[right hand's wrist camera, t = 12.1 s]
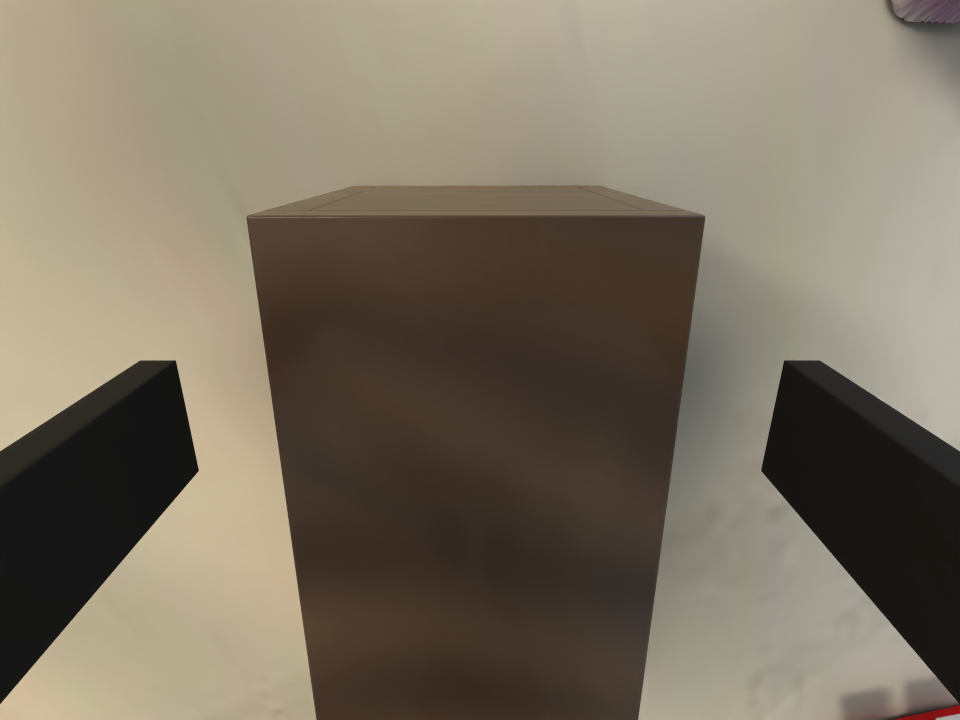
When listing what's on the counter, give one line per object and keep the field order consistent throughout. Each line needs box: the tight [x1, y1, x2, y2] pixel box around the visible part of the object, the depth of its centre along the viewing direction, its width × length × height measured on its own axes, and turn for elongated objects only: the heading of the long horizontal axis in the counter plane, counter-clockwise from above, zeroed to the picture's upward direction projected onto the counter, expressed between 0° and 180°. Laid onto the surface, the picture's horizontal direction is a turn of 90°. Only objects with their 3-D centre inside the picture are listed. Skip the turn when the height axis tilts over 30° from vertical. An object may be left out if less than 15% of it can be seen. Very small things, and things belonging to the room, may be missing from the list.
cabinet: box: [247, 186, 705, 720], centre depth 22 cm, size 20×10×12 cm, turn 0°
